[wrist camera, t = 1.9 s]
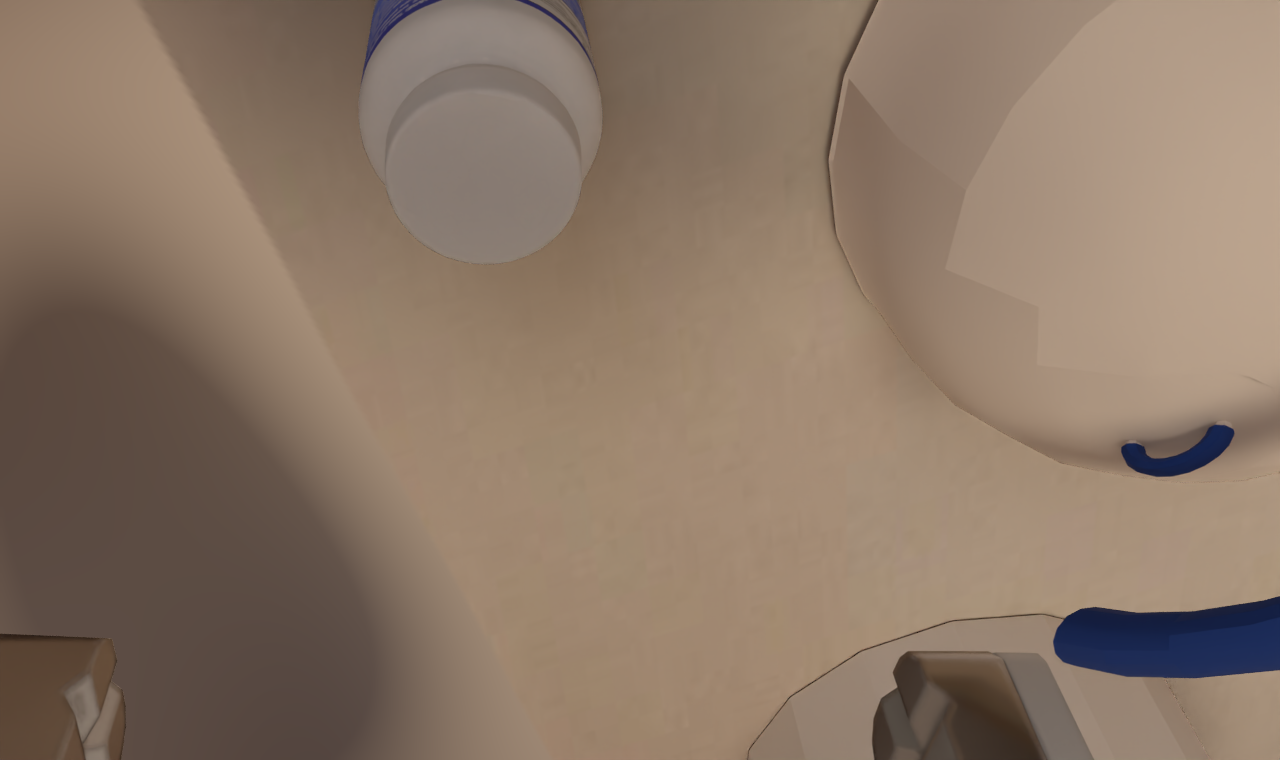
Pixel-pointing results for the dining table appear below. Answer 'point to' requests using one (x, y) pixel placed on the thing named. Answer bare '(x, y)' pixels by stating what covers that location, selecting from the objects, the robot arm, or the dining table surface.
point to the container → (1100, 702)
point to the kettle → (1084, 250)
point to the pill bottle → (481, 120)
